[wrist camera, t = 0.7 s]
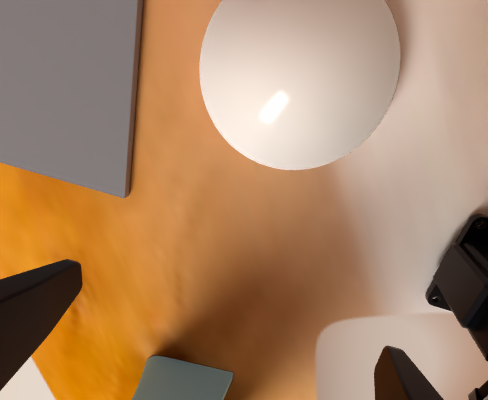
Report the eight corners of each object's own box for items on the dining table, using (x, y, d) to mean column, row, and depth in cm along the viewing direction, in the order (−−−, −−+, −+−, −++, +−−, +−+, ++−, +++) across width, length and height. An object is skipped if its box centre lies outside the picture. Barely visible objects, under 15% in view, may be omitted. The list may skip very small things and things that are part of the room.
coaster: (143, -3, 17) (137, -6, 17) (128, 195, 22) (124, 198, 22) (-52, -48, 18) (-63, -52, 18) (-25, 150, 23) (-33, 152, 23)
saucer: (426, -11, 15) (439, -19, 14) (352, 181, 19) (356, 190, 18) (226, -53, 16) (217, -65, 15) (196, 139, 20) (187, 144, 19)
